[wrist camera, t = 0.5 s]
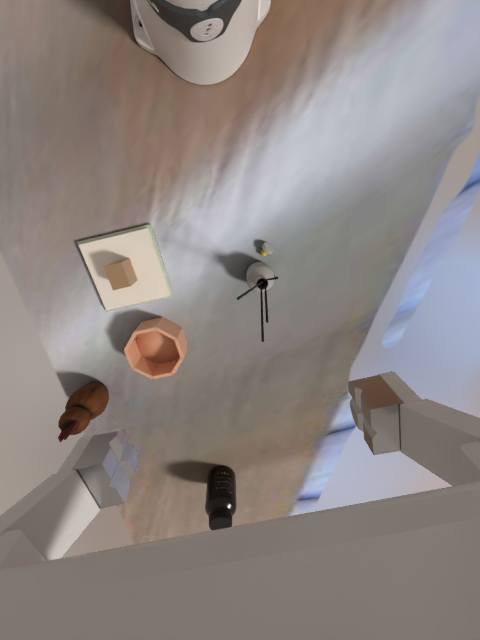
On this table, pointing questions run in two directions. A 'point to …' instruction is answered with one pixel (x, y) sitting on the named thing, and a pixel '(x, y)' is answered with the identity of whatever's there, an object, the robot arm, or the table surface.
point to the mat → (156, 252)
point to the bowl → (156, 348)
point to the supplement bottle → (220, 497)
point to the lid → (125, 269)
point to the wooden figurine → (83, 408)
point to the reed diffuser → (261, 280)
